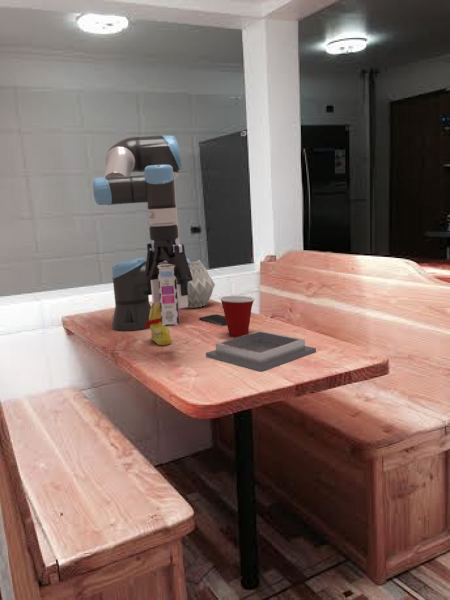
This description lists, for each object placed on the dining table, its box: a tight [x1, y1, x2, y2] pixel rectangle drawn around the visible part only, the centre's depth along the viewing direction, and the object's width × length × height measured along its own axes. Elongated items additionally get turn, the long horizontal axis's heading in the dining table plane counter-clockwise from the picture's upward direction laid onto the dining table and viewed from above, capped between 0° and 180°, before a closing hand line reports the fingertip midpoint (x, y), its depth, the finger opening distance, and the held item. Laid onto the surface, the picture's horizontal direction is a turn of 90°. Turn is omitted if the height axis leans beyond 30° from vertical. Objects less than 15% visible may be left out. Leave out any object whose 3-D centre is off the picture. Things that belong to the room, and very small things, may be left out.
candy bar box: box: [157, 261, 180, 327], centre depth 146 cm, size 11×5×16 cm, turn 5°
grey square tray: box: [205, 330, 317, 372], centre depth 144 cm, size 21×21×4 cm
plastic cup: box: [219, 295, 256, 338], centre depth 165 cm, size 11×11×12 cm
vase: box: [186, 259, 216, 309], centre depth 214 cm, size 16×16×18 cm
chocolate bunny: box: [145, 302, 172, 346], centre depth 162 cm, size 7×11×15 cm, turn 25°
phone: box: [198, 313, 227, 327], centre depth 187 cm, size 8×1×15 cm
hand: (169, 304), depth 147 cm, fingers closed on candy bar box, 11 cm apart
